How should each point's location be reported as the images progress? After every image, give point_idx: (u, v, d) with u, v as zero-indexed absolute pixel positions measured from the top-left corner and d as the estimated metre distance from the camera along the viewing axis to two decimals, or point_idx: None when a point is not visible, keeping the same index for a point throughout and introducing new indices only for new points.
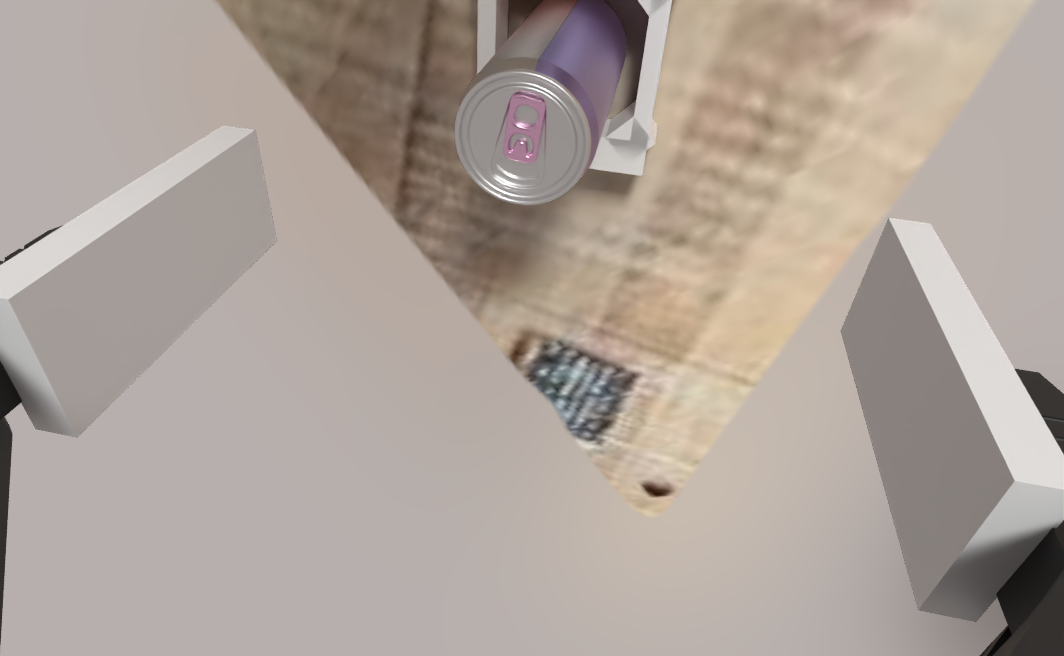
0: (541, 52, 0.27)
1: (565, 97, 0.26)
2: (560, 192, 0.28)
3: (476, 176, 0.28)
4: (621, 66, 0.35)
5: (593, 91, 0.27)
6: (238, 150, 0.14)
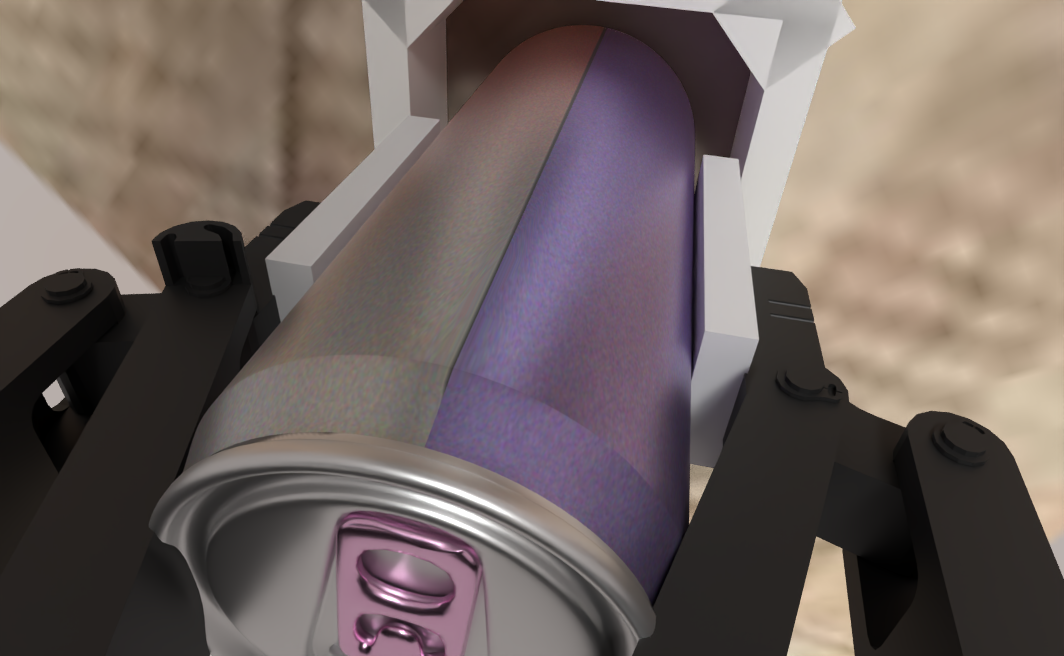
0: (469, 312, 0.07)
1: None
2: None
3: None
4: None
5: (667, 432, 0.07)
6: (429, 138, 0.15)
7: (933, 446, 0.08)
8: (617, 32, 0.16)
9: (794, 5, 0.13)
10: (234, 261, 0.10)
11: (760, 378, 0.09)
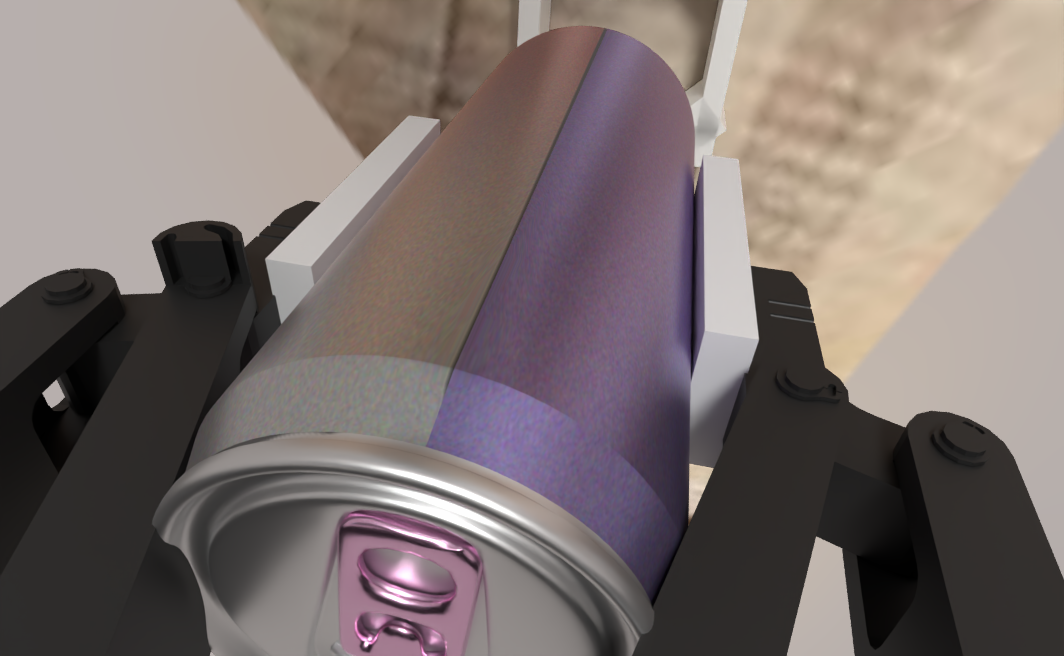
0: (470, 312, 0.07)
1: None
2: None
3: None
4: None
5: (666, 432, 0.08)
6: (430, 138, 0.15)
7: (933, 446, 0.08)
8: (617, 33, 0.16)
9: None
10: (234, 261, 0.10)
11: (760, 378, 0.09)
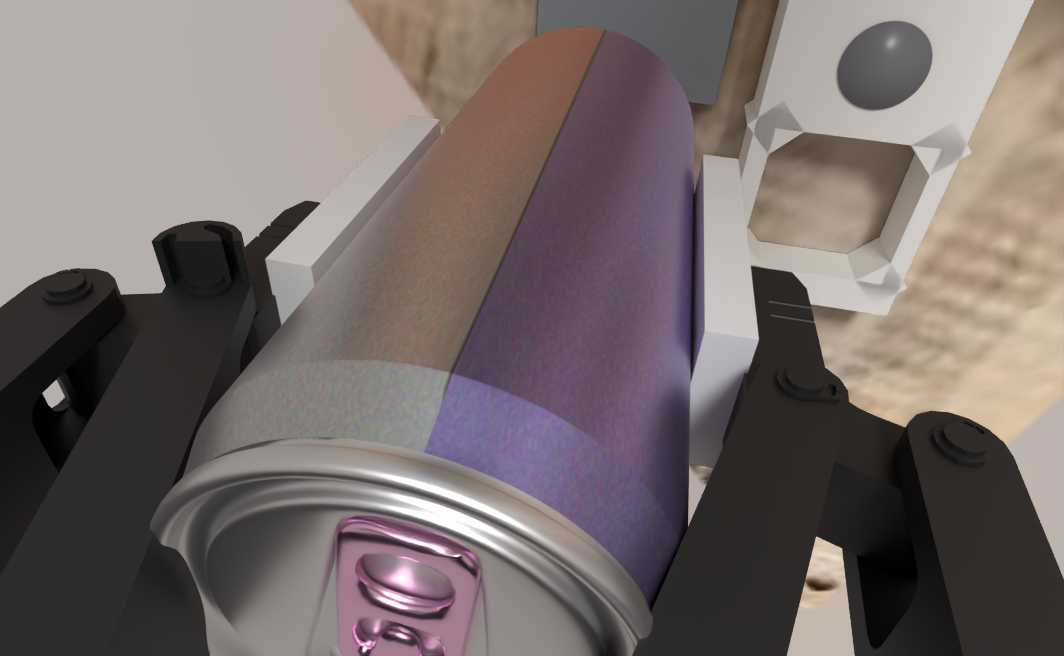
0: (469, 317, 0.07)
1: None
2: None
3: None
4: None
5: (666, 436, 0.07)
6: (430, 138, 0.15)
7: (933, 446, 0.08)
8: (617, 34, 0.16)
9: (947, 144, 0.33)
10: (234, 261, 0.10)
11: (760, 378, 0.09)
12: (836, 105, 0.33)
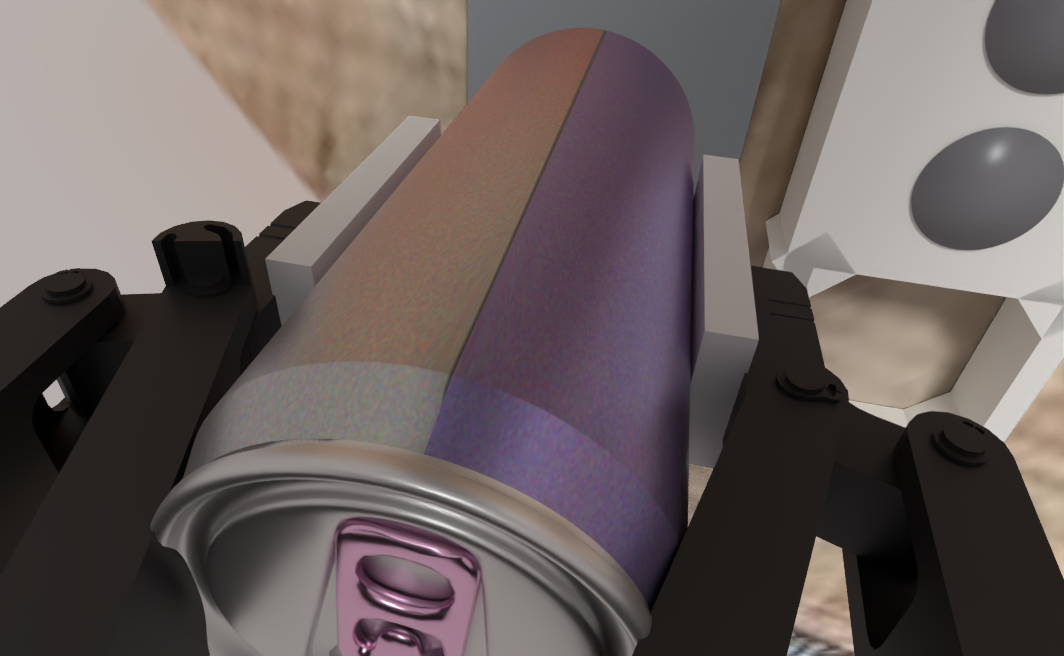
0: (468, 318, 0.07)
1: None
2: None
3: None
4: None
5: (665, 437, 0.08)
6: (430, 138, 0.15)
7: (933, 446, 0.08)
8: (617, 35, 0.16)
9: None
10: (234, 261, 0.10)
11: (760, 378, 0.09)
12: (906, 241, 0.22)
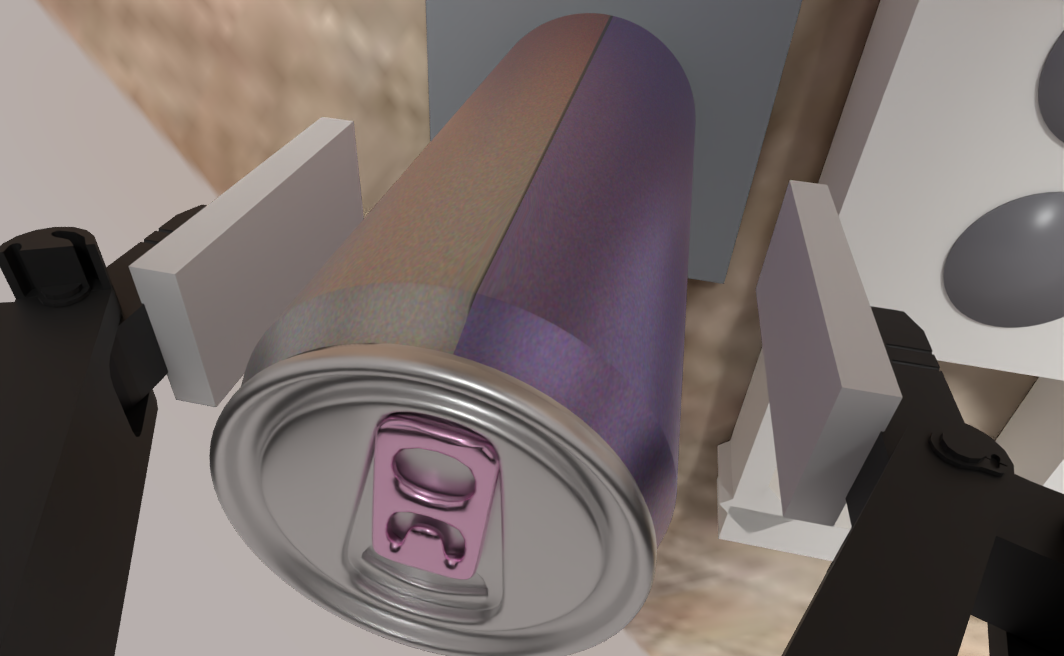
0: (489, 251, 0.08)
1: None
2: (553, 651, 0.09)
3: (306, 581, 0.10)
4: None
5: (660, 361, 0.09)
6: (340, 140, 0.15)
7: None
8: (622, 20, 0.17)
9: None
10: (90, 266, 0.10)
11: (911, 437, 0.08)
12: (936, 315, 0.19)
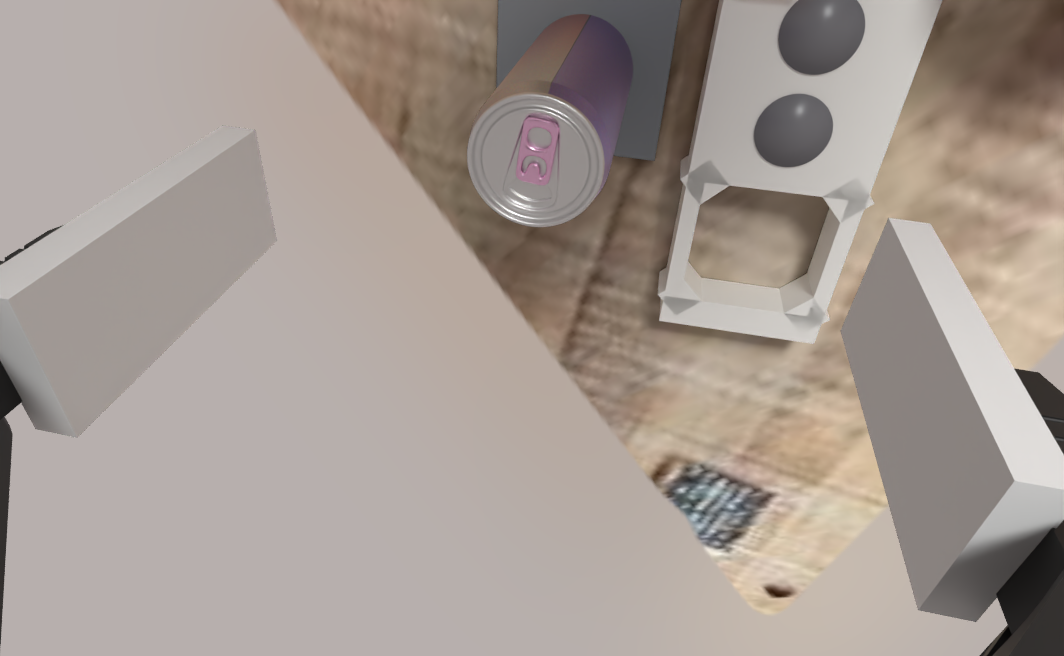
0: (553, 75, 0.27)
1: (578, 119, 0.26)
2: (573, 214, 0.28)
3: (488, 198, 0.28)
4: (629, 88, 0.36)
5: (605, 113, 0.27)
6: (238, 150, 0.14)
7: None
8: (595, 17, 0.37)
9: (852, 195, 0.38)
10: None
11: None
12: (755, 163, 0.38)
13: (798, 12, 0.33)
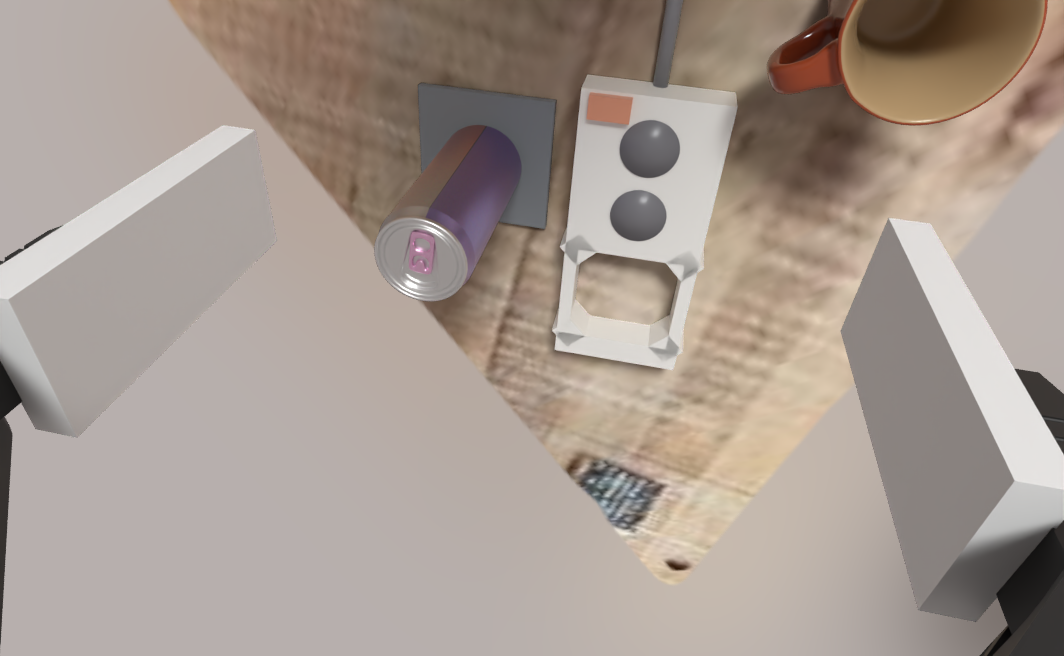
0: (433, 200, 0.39)
1: (446, 234, 0.38)
2: (449, 293, 0.40)
3: (392, 281, 0.40)
4: (512, 184, 0.48)
5: (471, 225, 0.39)
6: (238, 150, 0.14)
7: None
8: (490, 127, 0.48)
9: (687, 263, 0.50)
10: None
11: None
12: (613, 237, 0.50)
13: (631, 135, 0.45)
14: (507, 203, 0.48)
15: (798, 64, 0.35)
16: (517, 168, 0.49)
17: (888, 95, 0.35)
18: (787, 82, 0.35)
